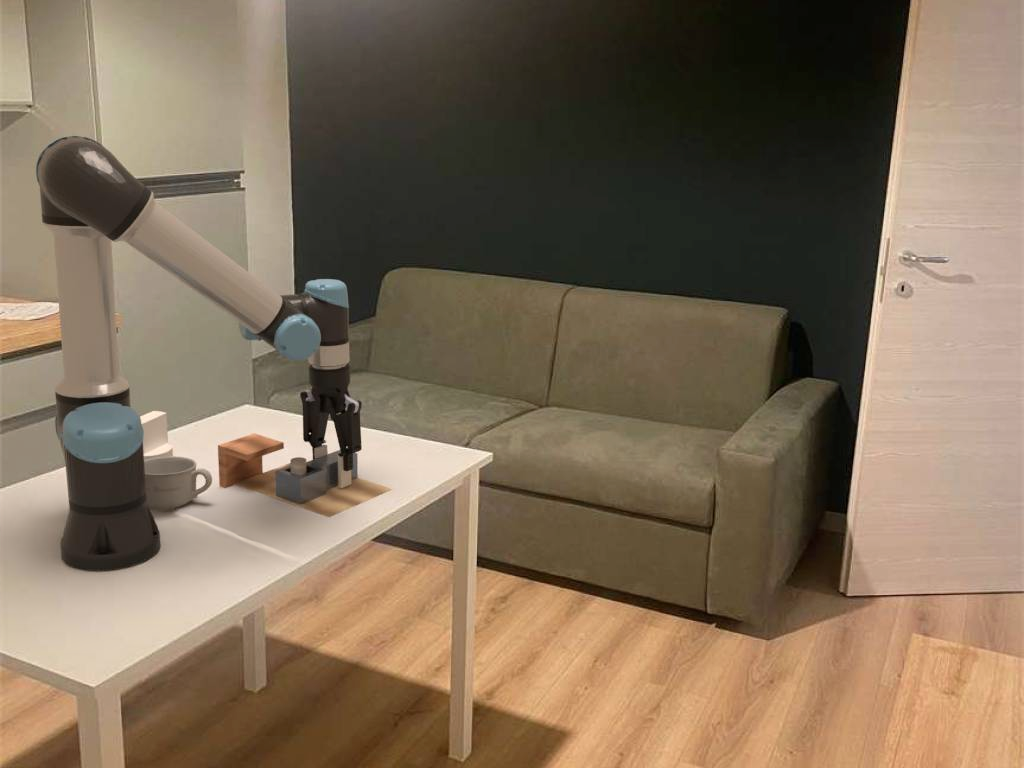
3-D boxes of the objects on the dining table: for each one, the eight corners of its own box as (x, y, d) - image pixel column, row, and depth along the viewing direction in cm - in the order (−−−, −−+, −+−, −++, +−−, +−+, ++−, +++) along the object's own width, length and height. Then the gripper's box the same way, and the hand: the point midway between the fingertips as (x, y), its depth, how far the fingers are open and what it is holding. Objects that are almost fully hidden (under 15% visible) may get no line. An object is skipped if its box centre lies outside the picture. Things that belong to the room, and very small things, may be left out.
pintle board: (325, 524, 185) (324, 480, 182) (219, 486, 199) (217, 445, 197) (392, 494, 199) (393, 453, 197) (289, 460, 214) (288, 422, 211)
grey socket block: (300, 504, 190) (300, 478, 189) (275, 495, 193) (275, 470, 192) (362, 479, 203) (362, 455, 201) (337, 471, 206) (337, 447, 205)
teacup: (122, 510, 187) (119, 468, 185) (162, 490, 197) (159, 449, 194) (188, 524, 182) (186, 481, 180) (225, 502, 192) (223, 461, 190)
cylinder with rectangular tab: (154, 489, 197) (150, 428, 193) (114, 481, 199) (110, 421, 196) (183, 473, 205) (180, 414, 202) (144, 466, 208) (141, 408, 204)
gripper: (380, 367, 192) (383, 487, 198) (308, 352, 202) (312, 466, 208) (352, 376, 186) (355, 499, 192) (279, 360, 196) (284, 477, 202)
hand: (333, 482), depth 200 cm, fingers open, 5 cm apart
